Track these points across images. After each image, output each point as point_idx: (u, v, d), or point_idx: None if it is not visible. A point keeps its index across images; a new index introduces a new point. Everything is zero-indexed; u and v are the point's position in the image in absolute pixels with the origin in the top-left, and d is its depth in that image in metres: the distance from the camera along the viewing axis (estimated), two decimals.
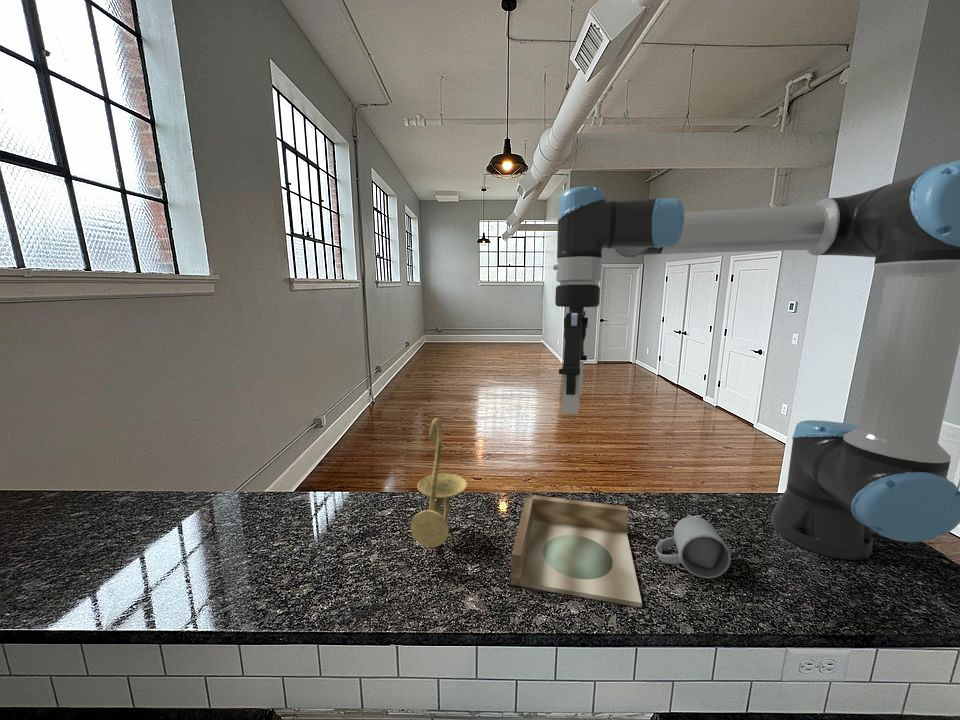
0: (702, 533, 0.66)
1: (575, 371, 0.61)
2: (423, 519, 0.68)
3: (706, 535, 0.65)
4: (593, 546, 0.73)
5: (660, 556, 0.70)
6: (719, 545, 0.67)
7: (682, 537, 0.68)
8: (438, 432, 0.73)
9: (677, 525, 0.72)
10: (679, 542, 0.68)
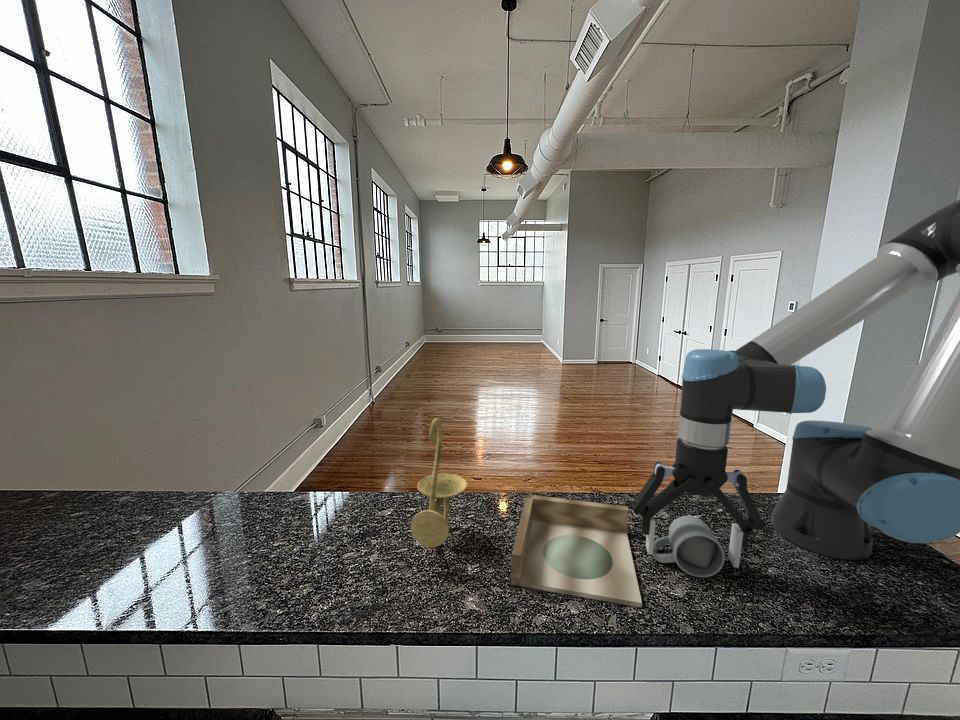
0: (696, 532, 0.66)
1: (633, 510, 0.70)
2: (423, 519, 0.68)
3: (700, 534, 0.66)
4: (593, 546, 0.73)
5: (655, 555, 0.70)
6: (713, 544, 0.67)
7: (677, 536, 0.68)
8: (438, 432, 0.73)
9: (672, 524, 0.72)
10: (673, 541, 0.68)
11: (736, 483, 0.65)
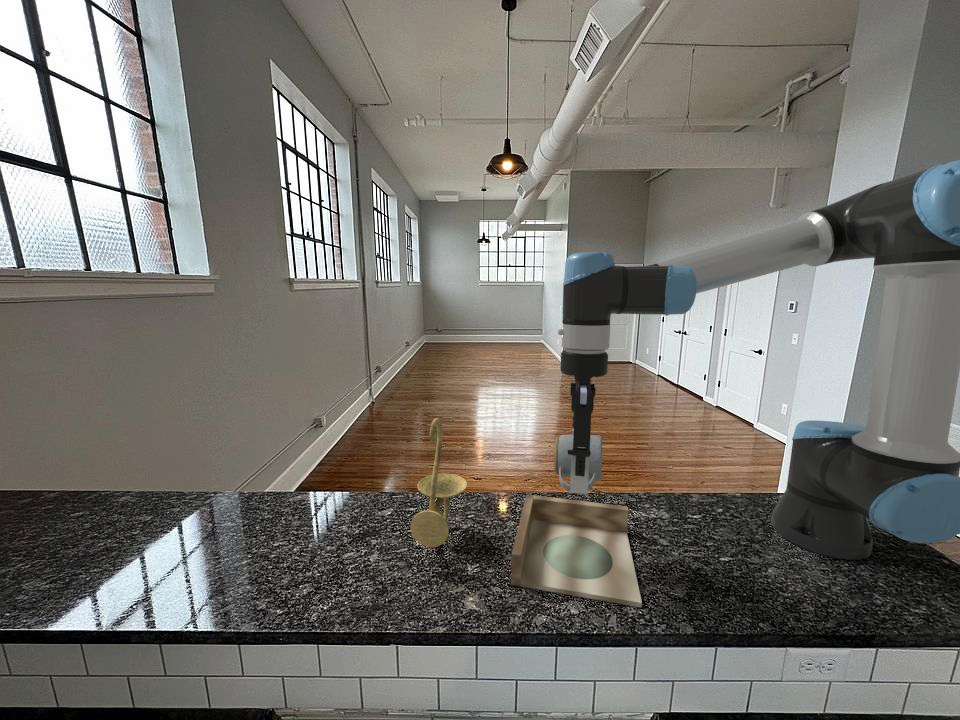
0: (597, 438, 0.67)
1: (586, 455, 0.58)
2: (423, 519, 0.68)
3: (601, 437, 0.67)
4: (593, 546, 0.73)
5: None
6: None
7: None
8: (438, 432, 0.73)
9: (563, 452, 0.67)
10: (590, 460, 0.65)
11: None
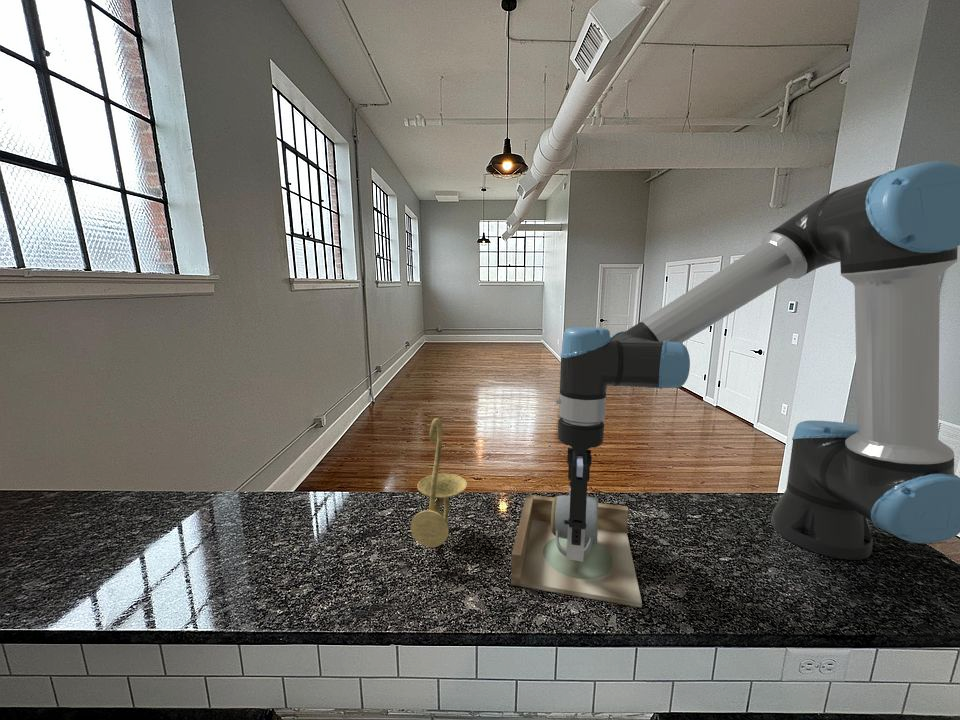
0: (593, 502, 0.69)
1: (582, 528, 0.60)
2: (423, 519, 0.68)
3: (597, 501, 0.69)
4: (593, 546, 0.73)
5: None
6: None
7: (586, 519, 0.67)
8: (438, 432, 0.73)
9: (560, 516, 0.69)
10: (586, 526, 0.67)
11: None
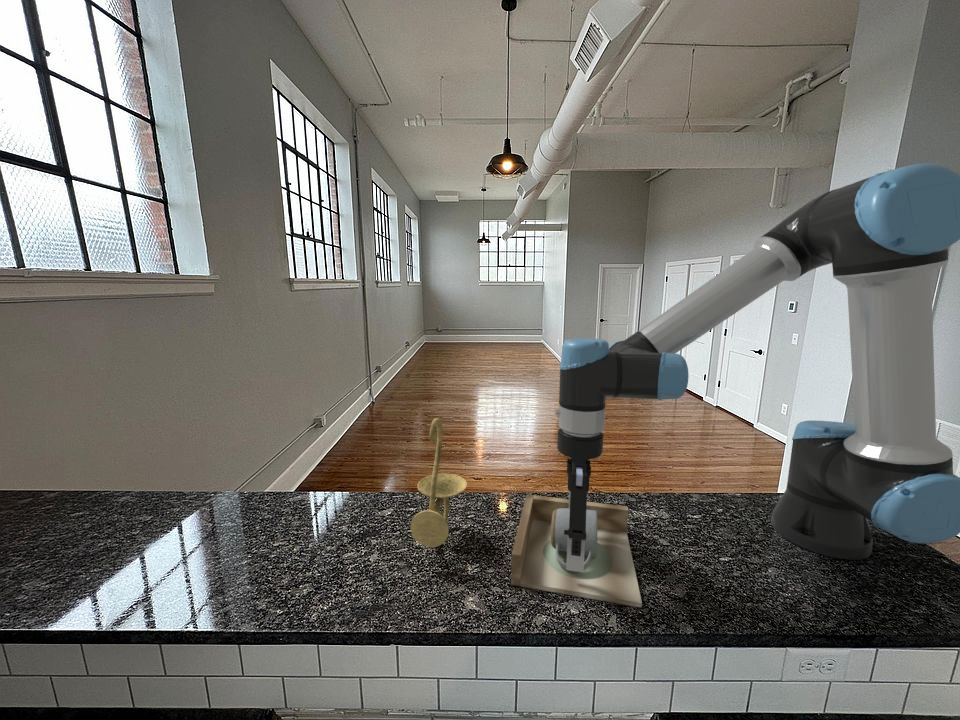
0: (593, 515, 0.69)
1: (581, 539, 0.59)
2: (423, 519, 0.68)
3: (596, 514, 0.70)
4: None
5: None
6: None
7: None
8: (438, 432, 0.73)
9: (560, 530, 0.69)
10: (586, 539, 0.67)
11: None
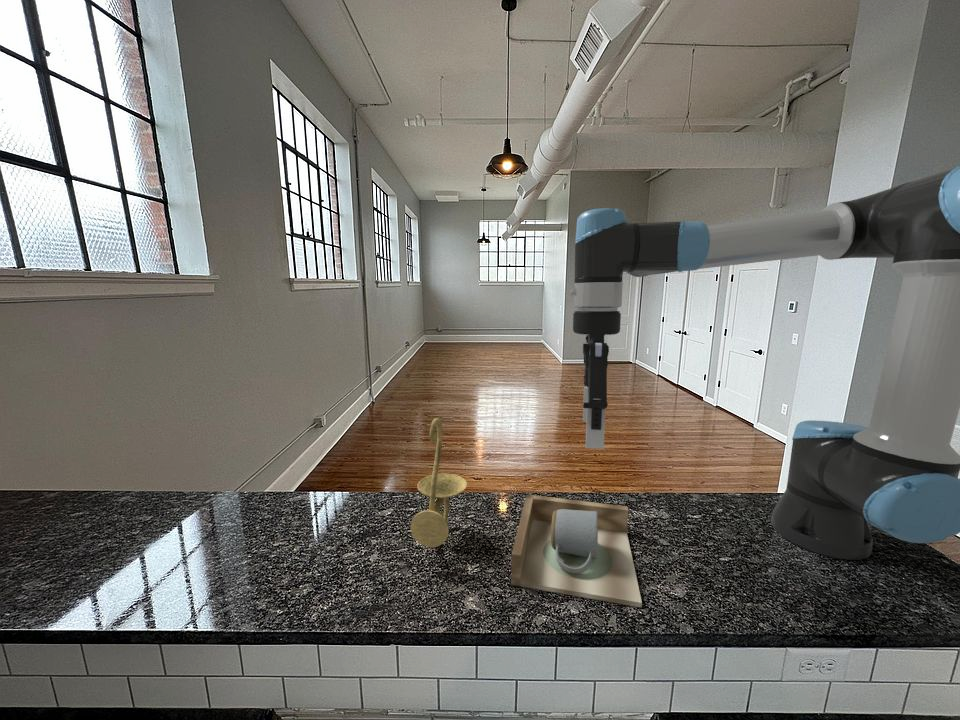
0: (593, 516, 0.69)
1: (603, 406, 0.57)
2: (423, 519, 0.68)
3: (597, 515, 0.69)
4: None
5: (582, 569, 0.65)
6: None
7: (586, 533, 0.67)
8: (438, 432, 0.73)
9: (560, 531, 0.69)
10: (586, 540, 0.67)
11: None
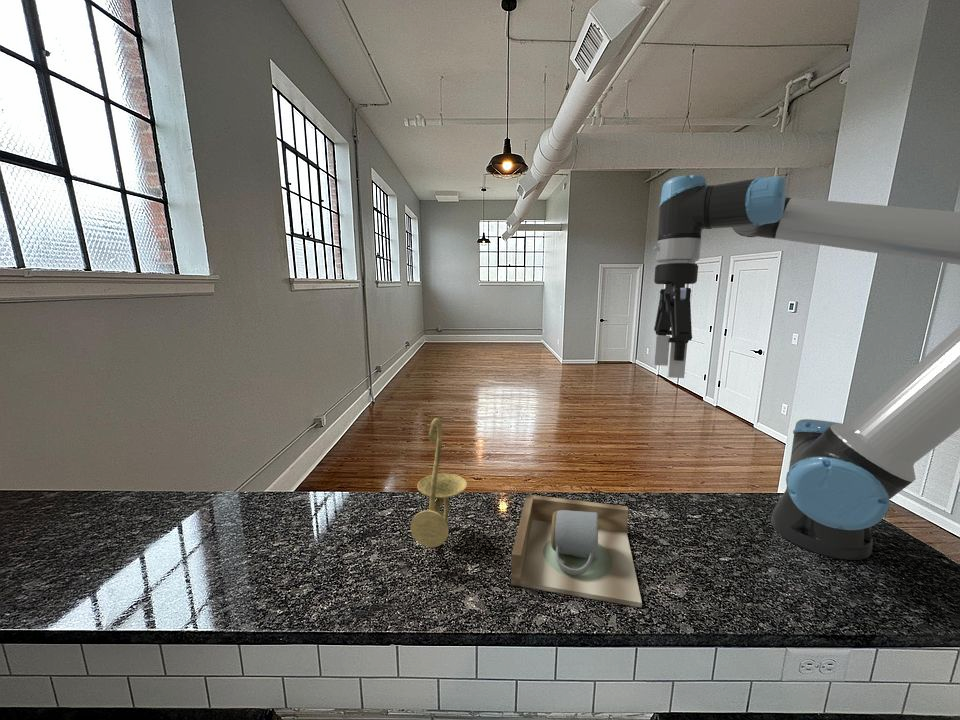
0: (593, 517, 0.69)
1: (688, 338, 0.69)
2: (423, 519, 0.68)
3: (597, 516, 0.69)
4: None
5: (582, 570, 0.65)
6: None
7: (586, 534, 0.67)
8: (438, 432, 0.73)
9: (560, 532, 0.68)
10: (586, 542, 0.67)
11: None
